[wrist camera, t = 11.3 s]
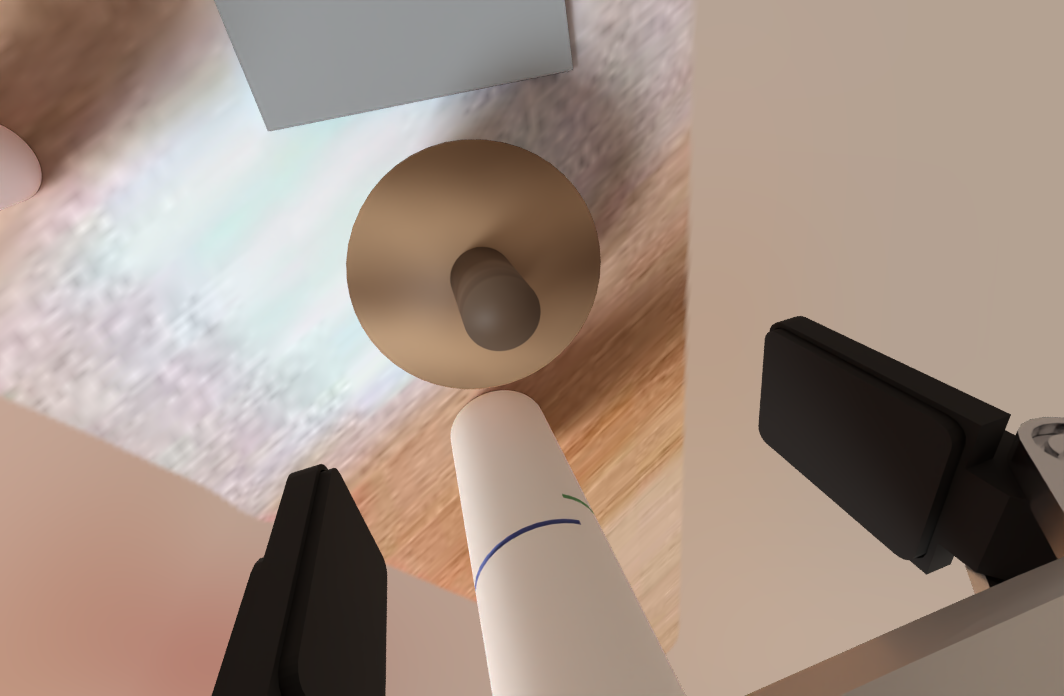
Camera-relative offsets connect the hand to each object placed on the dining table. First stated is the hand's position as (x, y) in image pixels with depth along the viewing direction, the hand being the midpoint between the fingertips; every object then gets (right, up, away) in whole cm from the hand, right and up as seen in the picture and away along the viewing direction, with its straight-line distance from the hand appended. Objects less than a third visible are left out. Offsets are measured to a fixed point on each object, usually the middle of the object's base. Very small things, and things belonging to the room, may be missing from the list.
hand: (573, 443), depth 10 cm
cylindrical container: (-3, -4, +25) cm, 25 cm away
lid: (-3, +6, +13) cm, 15 cm away
